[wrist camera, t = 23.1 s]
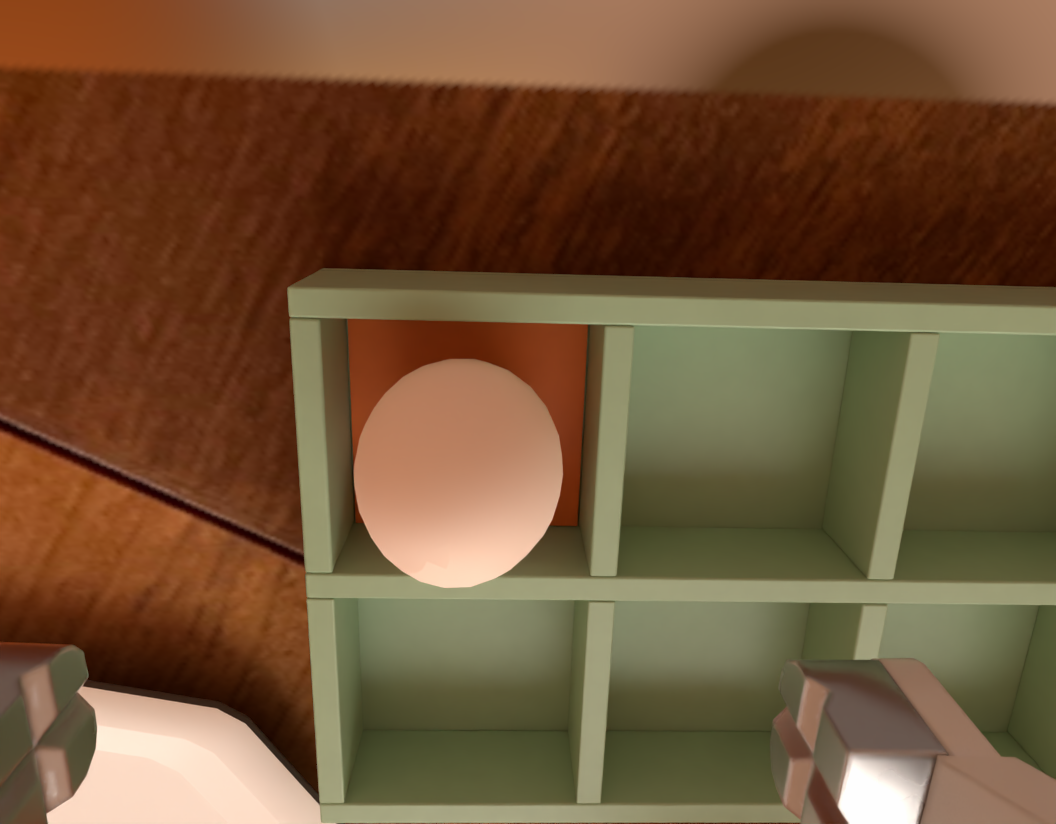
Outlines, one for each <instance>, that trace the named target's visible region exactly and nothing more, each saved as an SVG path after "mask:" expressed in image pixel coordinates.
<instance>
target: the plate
mask: <svg viewBox="0 0 1056 824" xmlns="http://www.w3.org/2000/svg"><path fill="white" fill-rule="evenodd" d="M78 693H79V694H80V695H81V696H82V697H83V698H84V699H85V700H86V701H87V702H88V703H89V704H90V705H91V706H92V707H93V708H94V709H95V716H96V722H97V738H96V749H95V752H94V755H93V758H92V761H91V764H90V767H89V770H88V773H87V776H86V777H85V779H84V780H83V782H82V783H81V785H80V787H79V788H78V790H77V791H76V793H75V794H74V796H73V797H72V798H70V799H69V800H67V801H66V802H64V803H63V804H61V805H59V806H58V807H56V808H55V809H53V810H52V811H50V812H48V813H47V820H48V824H345V823H322V822H321V817H320V801H319V794H318V793H317V792H316V791H315V790H314V789H313V787H312V786H311V785H310V784H309V783H308V782H307V781H306V780H305V779H304V778H303V776H302V775H301V774H300V773H299V772H298V771H297V770H296V769H295V768H294V766H293V765H292V764H291V763H290V762H289V761H288V760H287V759H286V758H285V756H284V755H283V754H282V753H281V752H280V751H279V750H278V749H277V748H276V747H275V745H274V744H273V743H272V742H271V741H270V740H269V739H268V738H267V737H266V735H265V734H264V733H263V732H262V731H261V730H260V729H259V728H258V727H257V725H256V724H255V723H254V722H253V721H252V720H251V719H250V718H249V717H248V716H247V715H245V714H243V713H241V712H239V711H237V710H235V709H233V708H231V707H229V706H227V705H226V704H224V703H222V702H220V701H214V700H208V699H201V698H195V697H189V696H183V695H177V694H171V693H165V692H159V691H153V690H147V689H141V688H135V687H128V686H122V685H116V684H110V683H104V682H98V681H92V680H86V681H85V683H84V684H83V686H82V687H81V689H80V690H79V692H78Z"/></svg>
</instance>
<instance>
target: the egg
mask: <svg viewBox="0 0 1056 824" xmlns="http://www.w3.org/2000/svg"><path fill="white" fill-rule="evenodd" d="M562 478H563V465H562V453H561V446H560V439H559V435H558V432H557V430H556V427H555V425H554V423H553V420H552V418H551V416H550V414H549V411H548V409H547V407H546V405H545V404H544V403H543V402H542V400H541V399H540V398H539V397H538V395H537V394H536V393H535V391H534V390H533V389H532V388H531V387H530V386H529V385H528V384H526V383H525V382H524V381H522V380H521V379H520V378H518V377H517V376H516V375H514V374H513V373H512V372H510V371H509V370H507V369H504V368H501V367H499V366H496V365H493V364H491V363H488V362H485V361H481V360H477V359H447V360H443V361H439V362H435V363H432V364H428V365H424V366H422V367H420V368H418V369H416V370H414V371H413V372H411V373H409V374H407V375H405V376H403V377H402V378H401V379H400V380H399V381H398V382H397V383H396V384H395V385H394V386H392V387H391V388H390V389H389V390H388V391H387V392H386V393H385V394H384V395H383V397H382V398H381V399H380V401H379V402H378V403H377V405H376V406H375V407H374V409H373V411H372V412H371V414H370V416H369V418H368V420H367V422H366V423H365V426H364V428H363V431H362V433H361V436H360V439H359V444H358V448H357V453H356V458H355V464H354V487H355V492H356V498H357V503H358V509H359V513H360V515H361V517H362V519H363V521H364V523H365V525H366V528H367V530H368V532H369V534H370V536H371V538H372V540H373V541H374V542H375V544H376V545H377V547H378V548H379V550H380V551H381V552H382V554H383V555H384V556H385V557H386V558H387V559H388V560H389V561H390V562H392V563H393V564H394V565H395V566H396V567H398V568H399V569H400V570H401V571H403V572H404V573H406V574H408V575H409V576H411V577H413V578H415V579H416V580H418V581H420V582H423V583H427V584H431V585H435V586H439V587H443V588H458V587H472V586H475V585H478V584H481V583H483V582H486V581H489V580H492V579H495V578H497V577H499V576H500V575H502V574H504V573H506V572H508V571H509V570H511V569H512V568H513V567H514V566H515V565H516V564H518V563H519V562H520V561H521V560H522V559H523V558H524V557H525V556H526V555H527V554H528V553H529V552H530V551H531V550H532V548H533V547H534V546H535V545H536V544H537V543H538V541H539V540H540V539H541V538H542V537H543V536H544V534H545V532H546V530H547V528H548V526H549V525H550V523H551V521H552V519H553V516H554V513H555V509H556V506H557V503H558V500H559V497H560V491H561V485H562Z"/></svg>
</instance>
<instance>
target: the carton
mask: <svg viewBox="0 0 1056 824" xmlns="http://www.w3.org/2000/svg"><path fill="white" fill-rule="evenodd" d="M287 295H288V311H289V316H290V317H292V318H290V321H289V324H290V340H291V356H292V372H293V387H294V403H295V419H296V435H297V451H298V467H299V482H300V498H301V514H302V530H303V546H304V562H305V570H306V574H305V580H306V595H307V597H308V598H307V614H308V630H309V645H310V661H311V677H312V693H313V709H314V724H315V740H316V756H317V772H318V788H319V801H320V817H321V822H322V823H800V822H801V820H800V819H799V818H798V817H796V816H795V815H794V814H793V813H791V812H790V811H789V810H788V809H786V808H785V807H784V806H783V804H782V801H781V799H780V796H779V794H778V792H777V789H776V786H775V782H774V778H773V774H772V770H771V757H770V737H771V730H772V722H773V719H774V718H775V717H776V716H777V715H778V714H779V713H780V712H781V711H782V710H783V709H784V708H785V707H786V704H785V702H784V700H783V697H782V695H781V693H780V691H779V689H778V686H779V681H780V675H781V670H782V668H783V666H784V664H785V662H786V660H787V659H836V660H871V659H877V658H914V659H916V660H918V661H920V662H922V663H924V664H925V665H926V666H927V668H928V669H929V670H930V671H931V672H932V674H933V675H934V676H935V677H936V678H937V680H938V681H939V682H940V683H941V684H942V686H943V687H944V688H945V689H946V691H947V692H948V693H949V694H950V695H951V697H952V698H953V699H954V700H955V701H956V703H957V704H958V705H959V706H960V707H961V709H962V710H963V711H964V712H965V714H966V715H967V716H968V717H969V718H970V720H971V721H972V722H973V723H974V724H975V726H976V727H977V728H978V729H979V730H980V732H981V733H982V734H983V735H984V736H985V738H986V739H987V740H988V741H989V743H990V744H991V745H992V746H993V747H994V749H995V750H996V751H997V752H998V753H999V755H1000V756H1001V757H1016V758H1018V759H1020V760H1022V761H1023V762H1025V763H1027V764H1029V765H1030V766H1032V767H1034V768H1036V769H1038V770H1039V771H1041V772H1043V773H1045V774H1046V775H1048V776H1050V777H1052V778H1054V779H1055V780H1056V287H1033V286H994V285H956V284H917V283H879V282H840V281H802V280H763V279H725V278H686V277H648V276H609V275H571V274H532V273H493V272H455V271H416V270H378V269H339V268H323V269H321V270H319V271H317V272H315V273H314V274H312V275H310V276H308V277H306V278H304V279H302V280H300V281H298V282H297V283H295V284H293V285H291V286H289V287H288V288H287ZM447 359H477V360H481V361H485V362H488V363H491V364H493V365H496V366H499V367H501V368H504V369H507V370H509V371H510V372H512V373H513V374H514V375H516V376H517V377H518V378H520V379H521V380H522V381H524V382H525V383H526V384H528V385H529V386H530V387H531V388H532V389H533V390H534V391H535V393H536V394H537V395H538V397H539V398H540V399H541V400H542V402H543V403H544V404H545V405H546V407H547V409H548V411H549V414H550V416H551V418H552V420H553V423H554V425H555V427H556V430H557V432H558V435H559V439H560V446H561V453H562V465H563V478H562V485H561V491H560V497H559V500H558V503H557V506H556V509H555V513H554V516H553V519H552V521H551V523H550V525H549V526H548V528H547V530H546V532H545V534H544V536H543V537H542V538H541V539H540V540H539V541H538V543H537V544H536V545H535V546H534V547H533V548H532V550H531V551H530V552H529V553H528V554H527V555H526V556H525V557H524V558H523V559H522V560H521V561H520V562H519V563H518V564H516V565H515V566H514V567H513V568H512V569H511V570H509V571H508V572H506V573H504V574H502V575H500V576H499V577H497V578H495V579H492V580H489V581H486V582H483V583H481V584H478V585H475V586H472V587H458V588H443V587H439V586H435V585H431V584H427V583H423V582H420V581H418V580H416V579H415V578H413V577H411V576H409V575H408V574H406V573H404V572H403V571H401V570H400V569H399V568H398V567H396V566H395V565H394V564H393V563H392V562H390V561H389V560H388V559H387V558H386V557H385V556H384V555H383V554H382V552H381V551H380V550H379V548H378V547H377V545H376V544H375V542H374V541H373V540H372V538H371V536H370V534H369V532H368V530H367V528H366V525H365V523H364V521H363V519H362V517H361V515H360V513H359V509H358V503H357V498H356V492H355V487H354V464H355V458H356V453H357V448H358V444H359V439H360V436H361V433H362V431H363V428H364V426H365V423H366V422H367V420H368V418H369V416H370V414H371V412H372V411H373V409H374V407H375V406H376V405H377V403H378V402H379V401H380V399H381V398H382V397H383V395H384V394H385V393H386V392H387V391H388V390H389V389H390V388H391V387H392V386H394V385H395V384H396V383H397V382H398V381H399V380H400V379H401V378H402V377H403V376H405V375H407V374H409V373H411V372H413V371H414V370H416V369H418V368H420V367H422V366H424V365H428V364H432V363H435V362H439V361H443V360H447Z"/></svg>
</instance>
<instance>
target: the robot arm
mask: <svg viewBox="0 0 1056 824" xmlns="http://www.w3.org/2000/svg"><path fill="white" fill-rule="evenodd" d="M88 677H89V674H88V669H87V665H86V660H85V656H84V652H83V651H82V650H81V649H79V648H78V647H76V646H75V645H71V644H47V643H22V642H0V824H48V820H47V813H48V812H50V811H52V810H53V809H55V808H56V807H58V806H59V805H61V804H63V803H64V802H66V801H67V800H69V799H70V798H72V797H73V796H74V794H75V793H76V791H77V790H78V788H79V787H80V785H81V783H82V782H83V780H84V779H85V777H86V776H87V773H88V770H89V767H90V764H91V761H92V758H93V755H94V752H95V749H96V738H97V722H96V716H95V709H94V708H93V707H92V706H91V705H90V704H89V703H88V702H87V701H86V700H85V699H84V698H83V697H82V696H81V695H80V694H79V693H78V692H79V690H80V689H81V687H82V686H83V684H84V683H85V681H86V680H87V678H88ZM778 689H779V691H780V693H781V695H782V697H783V700H784V702H785V704H786V707H785V708H784V709H783V710H782V711H781V712H780V713H779V714H778V715H777V716H776V717H775V718H774V719H773V722H772V730H771V737H770V757H771V770H772V774H773V778H774V782H775V786H776V789H777V792H778V794H779V796H780V799H781V801H782V804H783V806H784V807H785V808H786V809H788V810H789V811H790V812H791V813H793V814H794V815H795V816H796V817H798V818H799V819H800V820H801V822H800V824H1056V780H1055V779H1054V778H1052V777H1050V776H1048V775H1046V774H1045V773H1043V772H1041V771H1039V770H1038V769H1036V768H1034V767H1032V766H1030V765H1029V764H1027V763H1025V762H1023V761H1022V760H1020V759H1018V758H1016V757H1001V756H1000V755H999V753H998V752H997V751H996V750H995V749H994V747H993V746H992V745H991V744H990V743H989V741H988V740H987V739H986V738H985V736H984V735H983V734H982V733H981V732H980V730H979V729H978V728H977V727H976V726H975V724H974V723H973V722H972V721H971V720H970V718H969V717H968V716H967V715H966V714H965V712H964V711H963V710H962V709H961V707H960V706H959V705H958V704H957V703H956V701H955V700H954V699H953V698H952V697H951V695H950V694H949V693H948V692H947V691H946V689H945V688H944V687H943V686H942V684H941V683H940V682H939V681H938V680H937V678H936V677H935V676H934V675H933V674H932V672H931V671H930V670H929V669H928V668H927V666H926V665H925V664H924V663H922V662H920V661H918V660H916V659H914V658H877V659H871V660H836V659H787V660H786V662H785V664H784V666H783V668H782V670H781V675H780V681H779V686H778Z"/></svg>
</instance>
